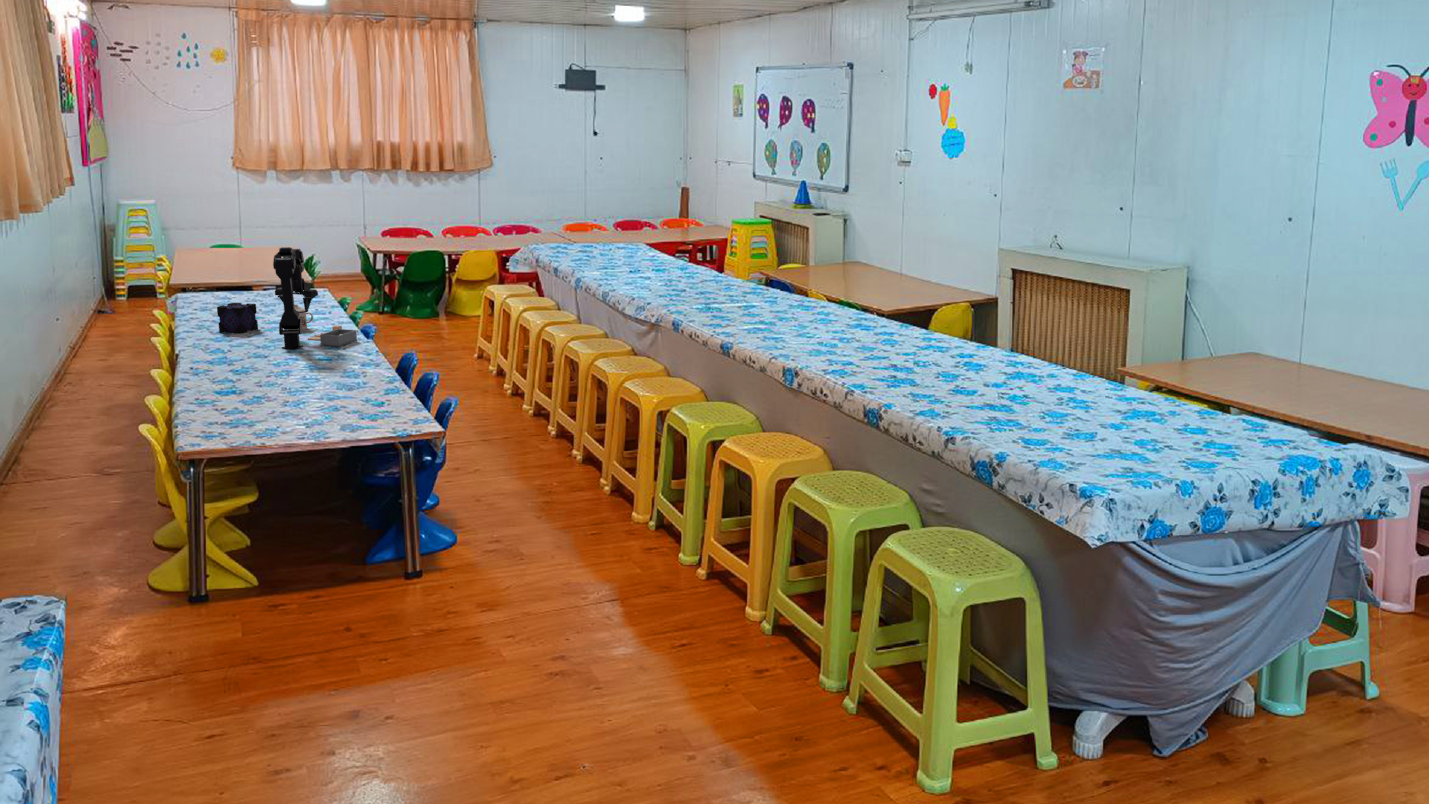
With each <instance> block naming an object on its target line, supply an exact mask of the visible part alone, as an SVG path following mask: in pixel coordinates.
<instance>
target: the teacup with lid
mask: <svg viewBox="0 0 1429 804" xmlns="http://www.w3.org/2000/svg"><path fill="white" fill-rule="evenodd" d="M294 306H295V310H296V311H298V312H299V316H300V319H301V320H302V331H304V330H308V324H310V323H312V322H313V320H314V315H313V313H311V312H306V311H305V307H301V306H299V305H298V303H294ZM307 315H310V317H311V318H310V319H309V320H308V321H307ZM296 330H299V329H296Z"/></svg>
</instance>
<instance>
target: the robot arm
mask: <svg viewBox="0 0 1429 804" xmlns="http://www.w3.org/2000/svg"><path fill="white" fill-rule="evenodd" d="M278 250H279V251H278V252H277V253H275V254H274V256H273V260H272V261H273V263H272V266H273V267H272V268H273V269H274V270H275V275H276V276H277V277H278V278H279V279H280V286H281V287H278V288H275V290H274V295H275V296H277V298H279V299H280V301H281V302H282V303H283V304H282V305H283V313H282V315H281V317H280V321H279V322H278V324H279V325H278V332H279V335H280V336H282V335H283V341H284V343H283V344H284V345H283V346H282V347H281V349H286V350H296V349H300V348H302V347H304V345H303V344H301V341H300V335H302V334H303V330H302V320H301V319H300V316H299V312H298V311H296V310H295V306H294V304H295V298H294V295H297V296H298V295H302V296H303V297H302V300H303V301H302V303H303V308H304V309H305V311H306V313H309V309H310V305H311V303H312V300H313V299H315V298H316V297H317V296H319V291H318V290H317V289H316V288H315V289H314V288H311V283H309V282H305V279H304V278H303V277H302V276H303V275H302V273H303V272H304V271H305V264H304V263H305V258H304V253H303V251H301V249H300V248H293V247H290V246H284V247H279V249H278ZM296 329H299V330H296Z"/></svg>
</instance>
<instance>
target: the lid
mask: <svg viewBox="0 0 1429 804" xmlns="http://www.w3.org/2000/svg"><path fill="white" fill-rule="evenodd" d="M331 329H332V330H331V331H334V330H337V329H343V327H342V325H333V326H332V327H331ZM327 332H328V331H325V332H321V333H320V334H315V335H314V336H311V337H308V338H307V340H308V341H318V342H321V339H320V335H321V334H324V333H327Z"/></svg>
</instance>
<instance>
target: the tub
mask: <svg viewBox="0 0 1429 804" xmlns="http://www.w3.org/2000/svg"><path fill="white" fill-rule="evenodd" d="M326 332H327V333H325V332H323V333H324V334H321V333H320V334H321V335H320V339H321V341H320V347H328V348H341V347H344V346H348V345H350V344H353V343H355V342H354V341H356V342H357V341H358V338H357V329H343V328H342V329H337V330H334V331H333V330H331V331H326ZM347 344H348V345H347Z"/></svg>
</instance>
